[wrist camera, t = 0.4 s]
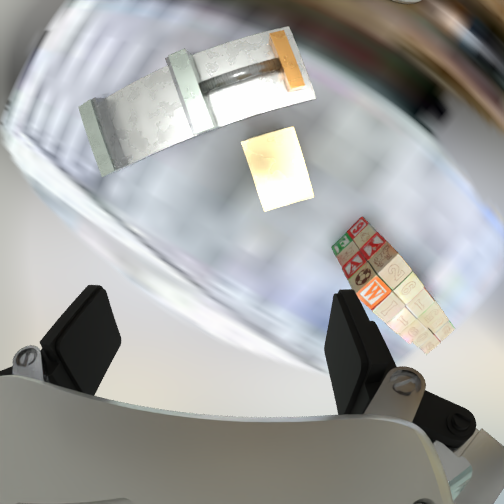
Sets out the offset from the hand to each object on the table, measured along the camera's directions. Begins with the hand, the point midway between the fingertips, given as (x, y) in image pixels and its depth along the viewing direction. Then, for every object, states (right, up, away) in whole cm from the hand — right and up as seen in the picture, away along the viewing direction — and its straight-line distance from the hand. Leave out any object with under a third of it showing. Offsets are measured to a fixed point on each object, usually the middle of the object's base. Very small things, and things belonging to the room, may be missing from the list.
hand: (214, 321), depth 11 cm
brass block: (+4, +14, +23) cm, 27 cm away
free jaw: (0, +22, +17) cm, 28 cm away
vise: (-5, +22, +19) cm, 30 cm away
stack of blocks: (+22, -1, +29) cm, 37 cm away
